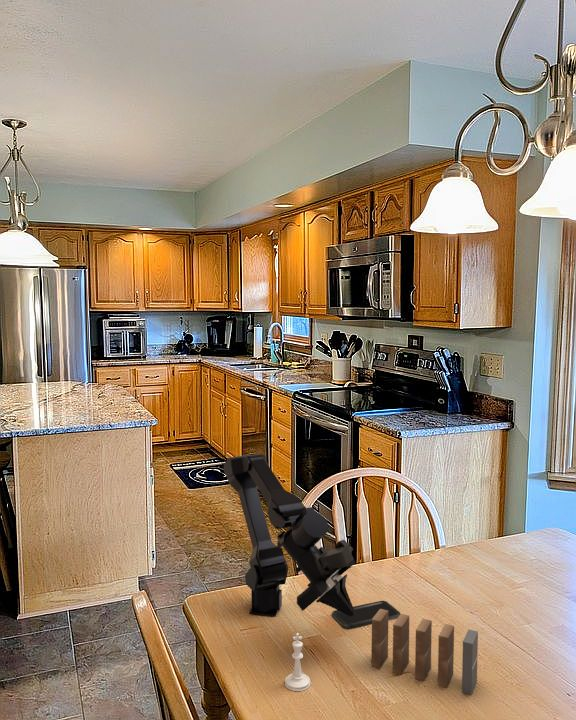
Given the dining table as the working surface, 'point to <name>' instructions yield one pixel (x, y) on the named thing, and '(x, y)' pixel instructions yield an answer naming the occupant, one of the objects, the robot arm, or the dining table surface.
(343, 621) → the phone
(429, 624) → the domino
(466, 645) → the domino
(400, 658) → the domino
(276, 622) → the dining table surface
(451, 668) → the domino
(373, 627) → the domino
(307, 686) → the chess piece
